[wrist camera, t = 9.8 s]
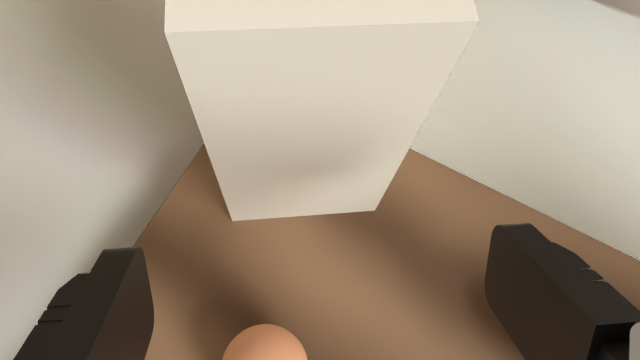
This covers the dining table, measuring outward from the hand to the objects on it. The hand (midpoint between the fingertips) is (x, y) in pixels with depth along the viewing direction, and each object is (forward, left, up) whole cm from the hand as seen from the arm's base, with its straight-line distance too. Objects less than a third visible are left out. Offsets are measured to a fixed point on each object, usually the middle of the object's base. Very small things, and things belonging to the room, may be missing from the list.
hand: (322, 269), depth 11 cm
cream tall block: (-5, -3, -8) cm, 10 cm away
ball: (+3, 0, -8) cm, 9 cm away
